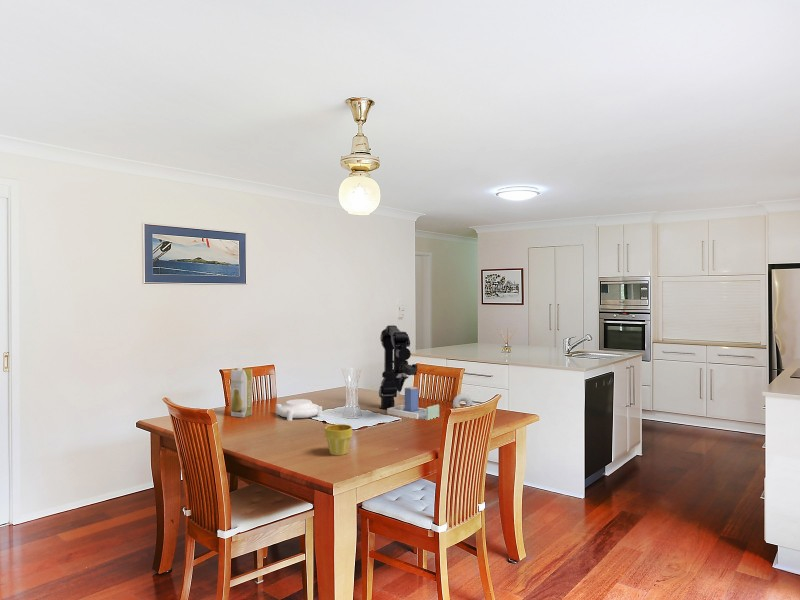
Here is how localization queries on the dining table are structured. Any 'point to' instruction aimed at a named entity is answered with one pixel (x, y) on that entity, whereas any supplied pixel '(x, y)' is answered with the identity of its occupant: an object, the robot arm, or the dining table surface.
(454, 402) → the donut
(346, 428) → the plant pot
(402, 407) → the beige low rectangular frame
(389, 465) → the dining table surface
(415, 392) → the blue beige tall block
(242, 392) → the juice carton
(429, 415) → the tray
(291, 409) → the round stand with pegs
